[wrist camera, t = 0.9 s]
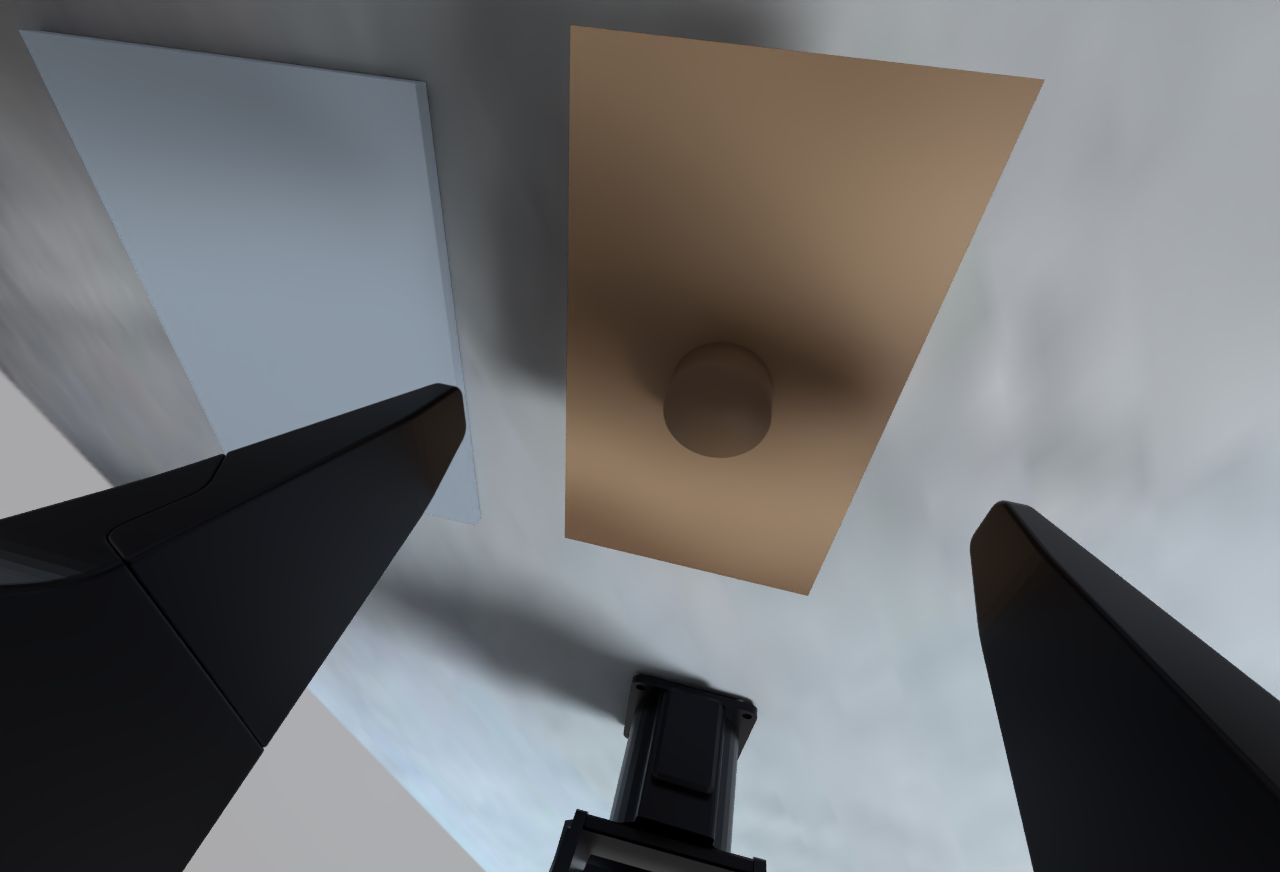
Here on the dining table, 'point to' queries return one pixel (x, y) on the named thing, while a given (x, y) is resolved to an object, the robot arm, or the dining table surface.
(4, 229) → the dining table surface
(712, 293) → the lid
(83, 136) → the mat
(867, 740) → the dining table surface
